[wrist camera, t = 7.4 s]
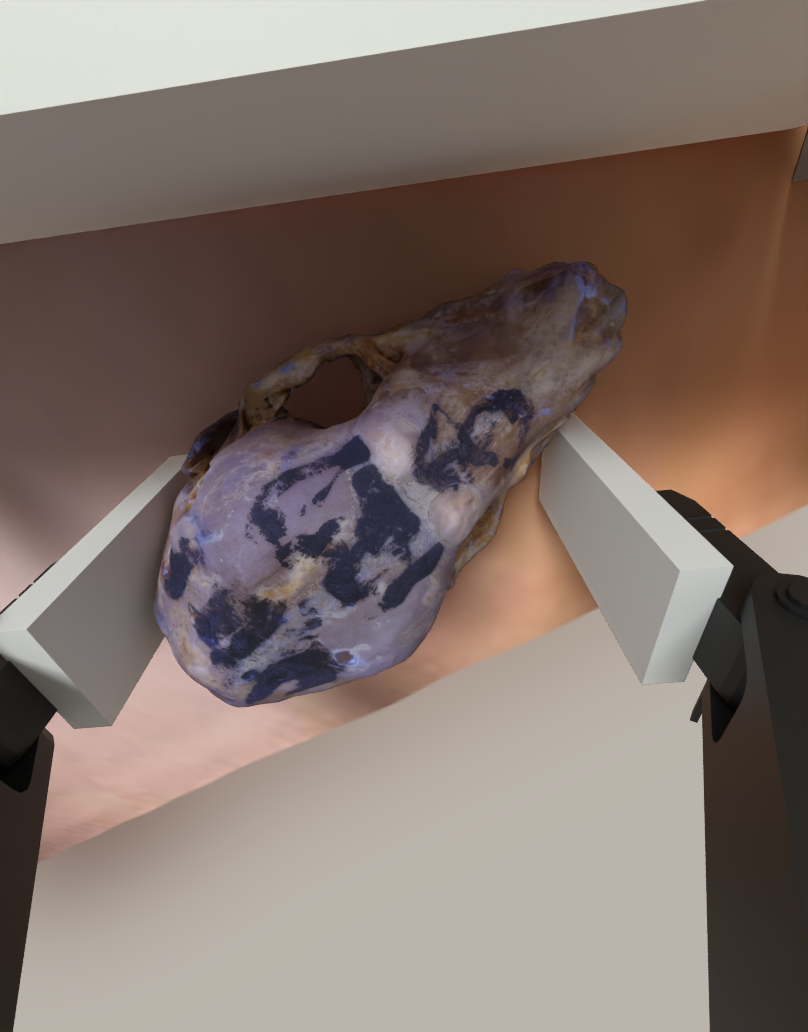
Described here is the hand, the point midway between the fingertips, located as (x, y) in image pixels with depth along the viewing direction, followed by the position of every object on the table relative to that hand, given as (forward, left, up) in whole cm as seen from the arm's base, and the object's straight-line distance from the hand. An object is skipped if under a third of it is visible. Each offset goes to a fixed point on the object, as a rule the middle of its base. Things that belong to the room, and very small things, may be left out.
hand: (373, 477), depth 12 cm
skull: (+1, +1, -1) cm, 1 cm away
